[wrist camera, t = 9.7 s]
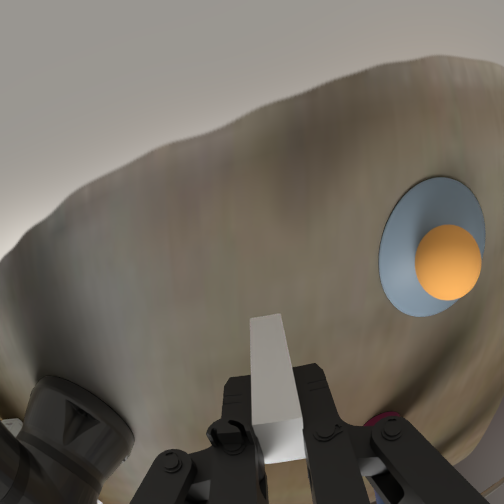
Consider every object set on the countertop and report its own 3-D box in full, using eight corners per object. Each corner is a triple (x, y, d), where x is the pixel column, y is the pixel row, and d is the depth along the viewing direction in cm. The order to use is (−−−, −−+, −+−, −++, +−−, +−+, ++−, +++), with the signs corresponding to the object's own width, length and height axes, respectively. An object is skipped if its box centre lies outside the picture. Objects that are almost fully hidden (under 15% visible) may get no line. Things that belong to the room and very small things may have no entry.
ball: (416, 278, 21) (408, 311, 17) (416, 216, 19) (412, 236, 15) (472, 281, 18) (478, 317, 13) (477, 217, 16) (490, 238, 12)
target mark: (377, 329, 21) (378, 331, 21) (372, 183, 18) (374, 183, 17) (477, 297, 20) (478, 298, 20) (483, 174, 17) (485, 174, 17)
